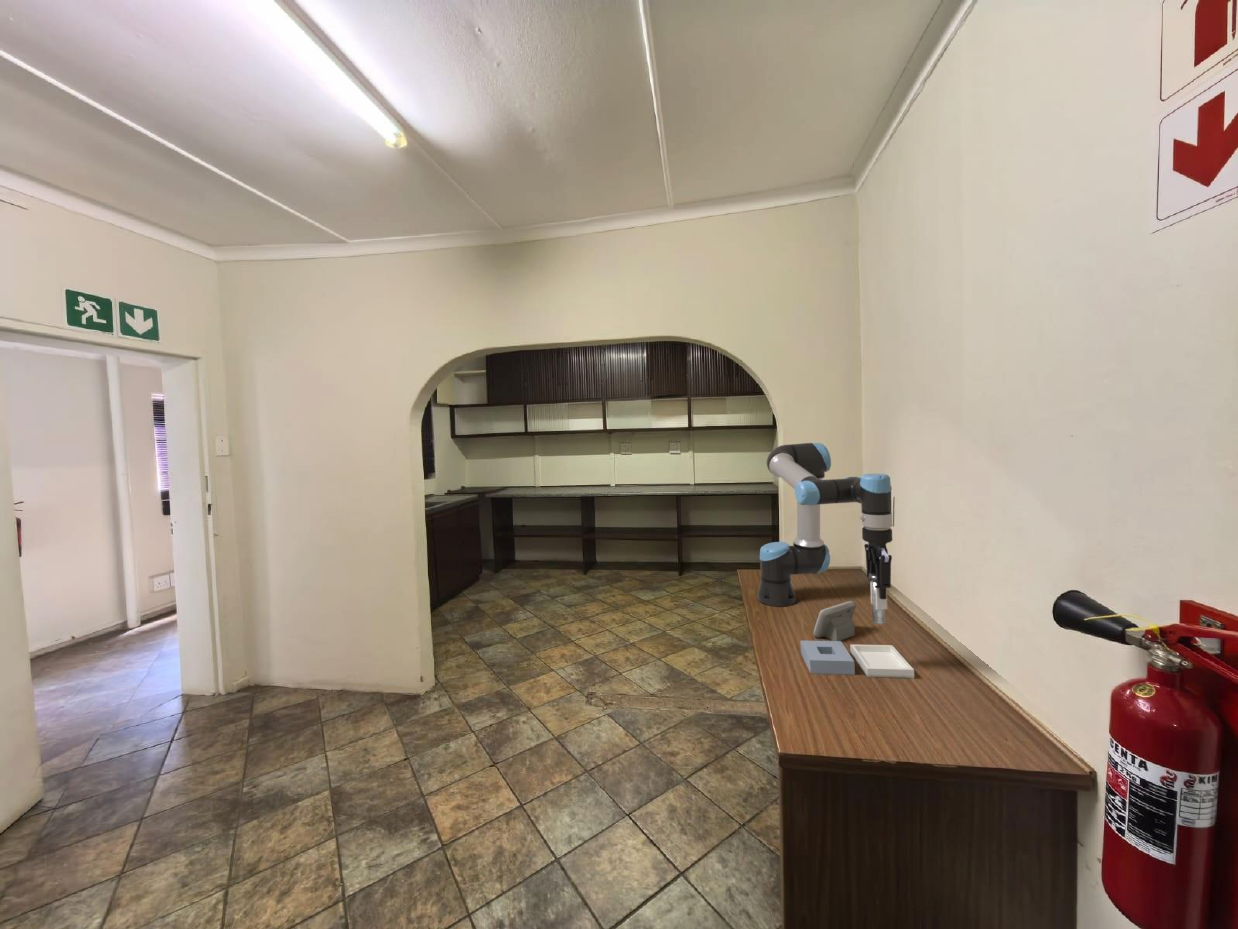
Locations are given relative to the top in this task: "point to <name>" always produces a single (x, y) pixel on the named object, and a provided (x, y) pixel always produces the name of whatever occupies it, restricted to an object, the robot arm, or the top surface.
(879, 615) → the pin
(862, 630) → the top surface
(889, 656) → the tray
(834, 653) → the socket block
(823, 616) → the digital clock
